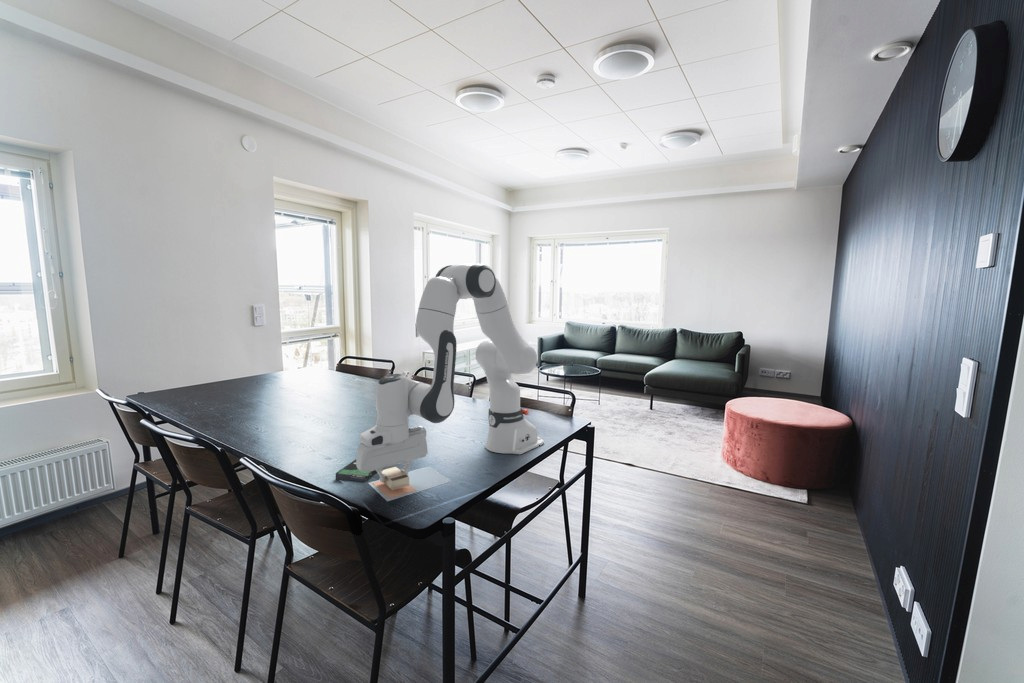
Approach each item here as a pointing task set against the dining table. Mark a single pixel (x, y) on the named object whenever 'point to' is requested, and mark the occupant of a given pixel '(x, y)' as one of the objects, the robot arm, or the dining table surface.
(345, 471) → the disk drive
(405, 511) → the dining table surface
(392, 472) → the cream curved ramp
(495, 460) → the dining table surface
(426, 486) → the mat
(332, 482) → the dining table surface
